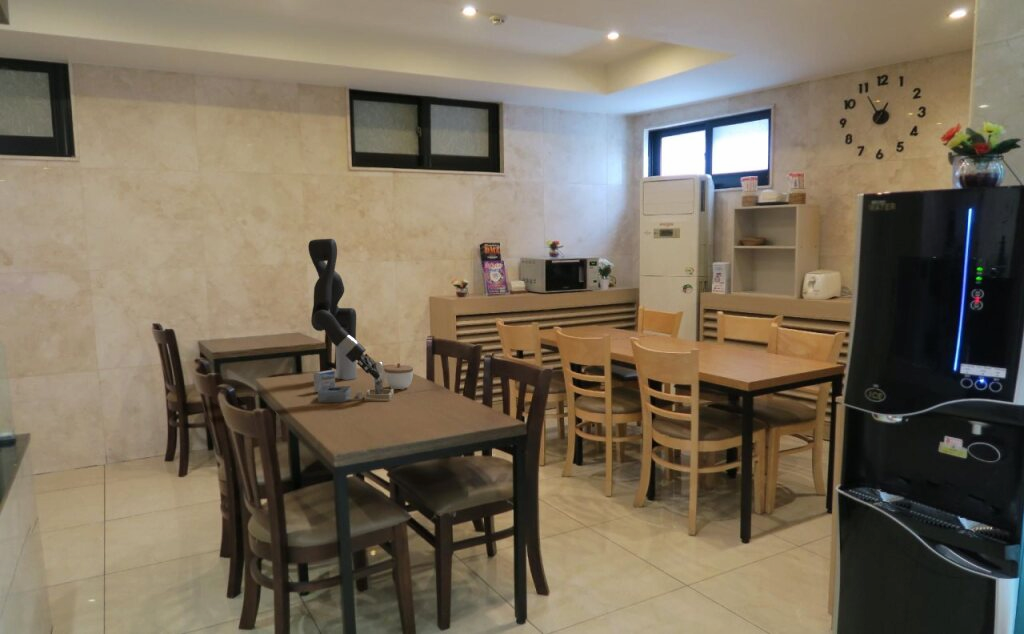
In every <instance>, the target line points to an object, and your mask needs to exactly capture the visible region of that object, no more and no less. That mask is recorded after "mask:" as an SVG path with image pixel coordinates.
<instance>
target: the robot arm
mask: <svg viewBox="0 0 1024 634" xmlns="http://www.w3.org/2000/svg"><path fill="white" fill-rule="evenodd" d="M308 253H309V256H310V259H311V262H312V264H313V266H314V268H315V271H316V273H317V275H318V278H317V280H316V282H315V285H314V288H313V307H312V312H311V321H310V323H311V326H312V328H313V329H314V330H315V331H318V332H322V331H324V332H325V333H326V334H327V337H328V340H329V341H330V342H331V343H332V344H333V345H334V346H335V362H336V364H335V379H336V380H339V379H343V380H342V381H345V380H346V381H349V379H350V380H355V379H357V378H356V377H357V365H358V366H359V367H360V368H361V369H362V370H363V371H364V372H365V373H366V374H370V375H371V376H372V377H373V379H374V378H375V379H378V378H379V377H380V375H379V374H378V373H377V372H376V371H375V370H374V362H376V361H375V360H374V359H373V358H371V356H369V355H368V354H367V353H365V352H366V351H367V350H366V348H365V347H364V346H363V345H362V344H360V342H359V341H357V338H356V337H357V312H356V309H355V308H353V307H339V306H338V305H339V302H340V300H341V299H342V297H343V296H344V293H345V286H344V282H343V280H342V277H341V275H340V274H339V273H338V272H337V271H335V269H336V264H337V256H338V245H337V243H336V241H335V239H333V238H320V239H319V238H317V239H316V238H315V239H312V240H310V241H309V242H308ZM345 328H346V330H345ZM364 353H365V354H364Z"/></svg>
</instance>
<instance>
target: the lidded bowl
mask: <svg viewBox="0 0 1024 634" xmlns="http://www.w3.org/2000/svg"><path fill="white" fill-rule="evenodd" d="M383 372H384V379H385V382H386V384H387V386H388V387H390V389H394V390H395V389H401V390H406V389H408V387H409V386H410V385H411V384H412V381H413V378H414V366H412V365H407V364H406V365H405V364H402V365H401V363H400V362H398V363H397V364H395V365H388V366H386V367H383ZM405 388H406V389H405Z"/></svg>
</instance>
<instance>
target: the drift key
mask: <svg viewBox="0 0 1024 634" xmlns="http://www.w3.org/2000/svg"><path fill="white" fill-rule="evenodd" d="M362 394H363V393H362V392H357V394H355V396H354V398H355V399H360V398H361V396H362Z"/></svg>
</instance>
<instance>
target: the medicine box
mask: <svg viewBox="0 0 1024 634" xmlns="http://www.w3.org/2000/svg"><path fill="white" fill-rule="evenodd" d="M313 386H314V388H313V389H314V391H313V392H314V393H316V392H319V391H320V390H321V389H322V388H323V387H324V386H336V370H332V369H331V370H330V369H329V370H323V371H317V372H314V373H313Z"/></svg>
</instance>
